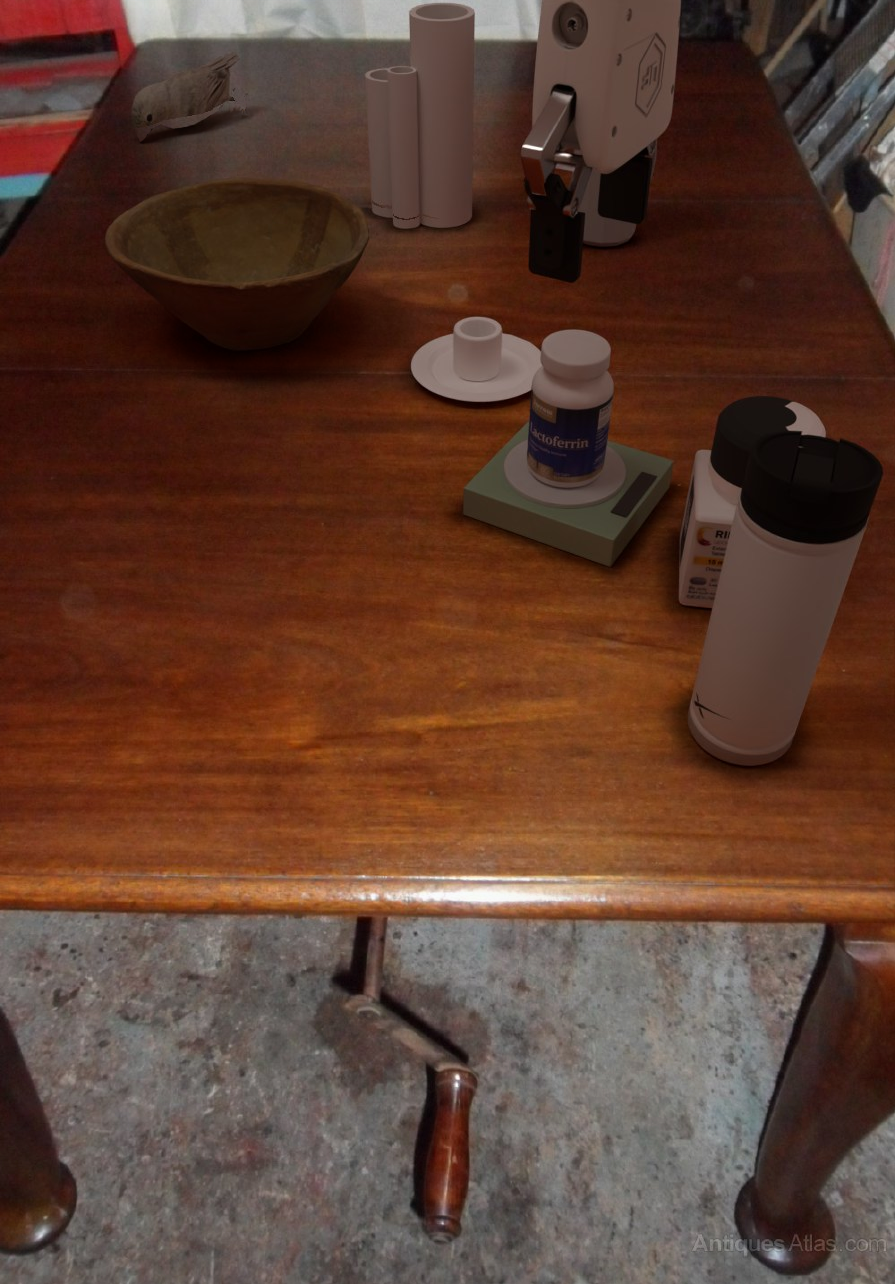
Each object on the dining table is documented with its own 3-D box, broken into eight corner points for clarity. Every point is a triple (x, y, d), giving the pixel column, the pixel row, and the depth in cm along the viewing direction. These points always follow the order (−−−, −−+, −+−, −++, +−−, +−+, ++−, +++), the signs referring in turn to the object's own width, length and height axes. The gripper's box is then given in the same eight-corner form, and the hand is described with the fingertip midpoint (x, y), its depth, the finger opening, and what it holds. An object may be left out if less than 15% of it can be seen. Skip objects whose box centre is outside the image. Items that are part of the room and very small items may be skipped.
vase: (473, 204, 120) (476, 3, 106) (469, 230, 115) (472, 23, 101) (374, 201, 121) (364, 0, 107) (365, 227, 116) (354, 21, 102)
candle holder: (530, 333, 99) (532, 289, 96) (561, 401, 90) (565, 356, 87) (402, 344, 97) (400, 300, 94) (422, 415, 89) (421, 369, 86)
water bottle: (589, 256, 110) (615, -21, 93) (553, 227, 115) (572, -40, 98) (664, 241, 113) (704, -31, 95) (626, 213, 118) (657, -50, 101)
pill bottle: (515, 480, 77) (521, 357, 70) (539, 439, 81) (548, 318, 74) (591, 498, 76) (605, 374, 69) (612, 455, 80) (628, 333, 73)
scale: (669, 487, 82) (675, 456, 80) (610, 567, 75) (614, 535, 73) (530, 442, 86) (532, 411, 84) (462, 514, 79) (463, 483, 77)
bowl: (240, 423, 88) (222, 311, 81) (83, 332, 99) (55, 226, 92) (422, 327, 100) (419, 222, 93) (263, 255, 111) (250, 156, 104)
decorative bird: (127, 137, 135) (114, 74, 130) (232, 108, 143) (224, 47, 138) (149, 149, 132) (137, 84, 127) (256, 119, 140) (248, 57, 135)
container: (677, 607, 72) (710, 444, 63) (679, 536, 77) (709, 377, 68) (795, 619, 71) (845, 456, 62) (787, 547, 76) (833, 387, 67)
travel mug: (676, 755, 63) (741, 476, 49) (697, 679, 67) (762, 403, 53) (784, 784, 61) (883, 504, 47) (798, 704, 65) (892, 426, 51)
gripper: (613, -41, 48) (584, 316, 59) (743, -103, 58) (696, 210, 70) (468, -57, 50) (467, 287, 62) (617, -113, 61) (592, 189, 73)
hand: (589, 246), depth 66 cm, fingers open, 9 cm apart
